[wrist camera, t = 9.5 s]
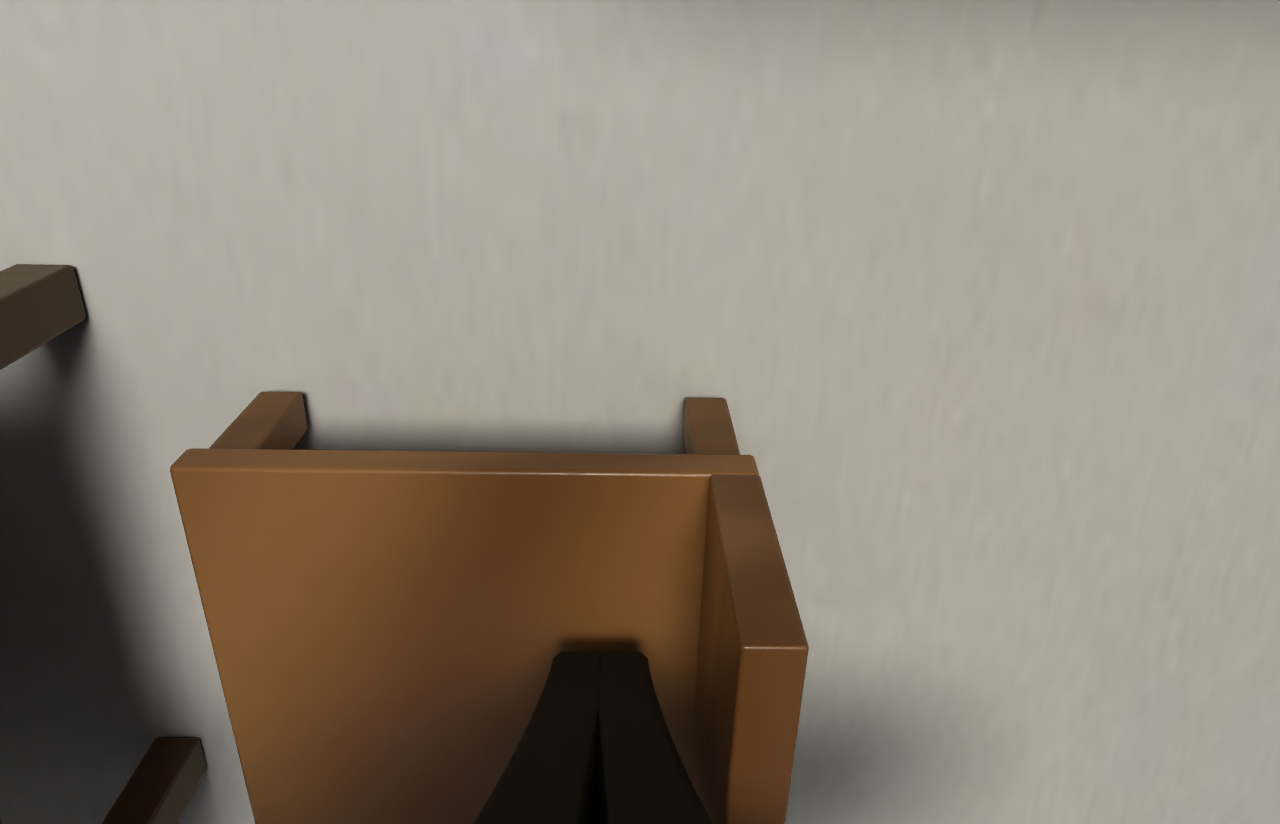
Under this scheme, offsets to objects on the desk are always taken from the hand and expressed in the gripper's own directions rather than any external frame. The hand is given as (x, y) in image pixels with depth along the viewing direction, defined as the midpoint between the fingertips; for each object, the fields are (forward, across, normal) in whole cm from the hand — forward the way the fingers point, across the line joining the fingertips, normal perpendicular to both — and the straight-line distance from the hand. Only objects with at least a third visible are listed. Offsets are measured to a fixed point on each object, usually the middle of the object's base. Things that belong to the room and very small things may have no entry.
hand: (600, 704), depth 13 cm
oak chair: (+4, +2, 0) cm, 4 cm away
